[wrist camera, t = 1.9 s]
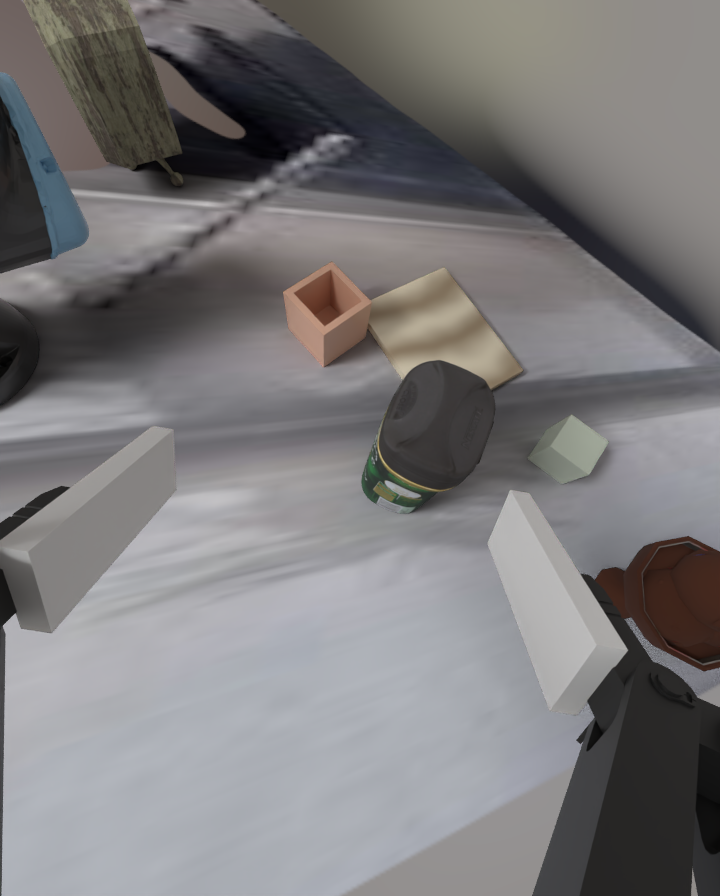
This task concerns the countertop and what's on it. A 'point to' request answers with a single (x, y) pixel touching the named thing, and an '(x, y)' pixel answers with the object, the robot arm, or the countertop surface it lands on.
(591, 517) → the countertop surface
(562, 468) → the grey-green block
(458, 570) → the countertop surface
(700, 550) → the ice cream bowl
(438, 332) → the birch board
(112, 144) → the tabletop clock
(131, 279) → the countertop surface
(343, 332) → the terracotta cup
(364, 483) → the coffee jar
